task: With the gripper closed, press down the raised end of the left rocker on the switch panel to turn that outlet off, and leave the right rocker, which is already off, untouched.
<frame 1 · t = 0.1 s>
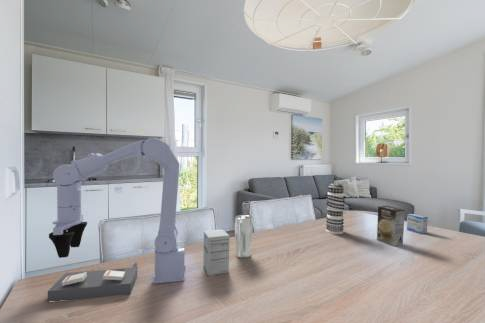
hand: (69, 251, 72), 10 cm above the table, tool pointing down, fingers open, 7 cm apart
switch panel: (97, 288, 71), on the table
rocker 2: (114, 275, 70), point 4 cm above the table, hinge at -10.0°
coffee box: (389, 242, 114), on the table
silver metal canister: (243, 255, 96), on the table
striped tower model: (334, 231, 128), on the table
rocker 1: (74, 278, 68), point 4 cm above the table, hinge at 10.0°
medicine box: (416, 232, 131), on the table
supplement box: (215, 270, 84), on the table
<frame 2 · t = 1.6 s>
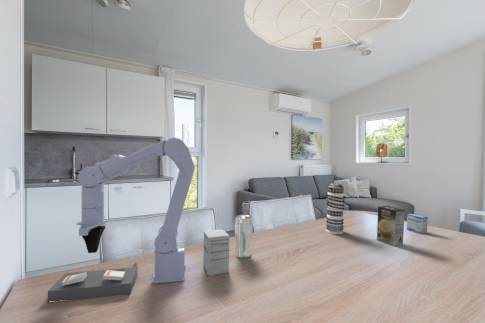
hand: (92, 251, 73), 9 cm above the table, tool pointing down, fingers closed
nothing on the table moved.
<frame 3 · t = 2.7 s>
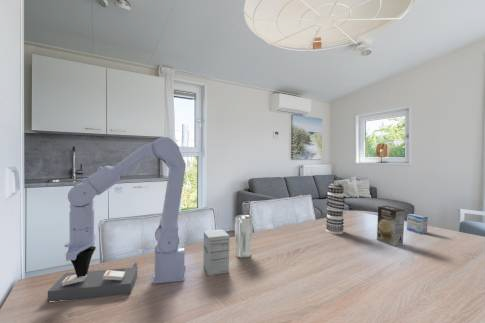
hand: (82, 275, 68), 5 cm above the table, tool pointing down, fingers closed, pressing on rocker 1
rocker 1: (74, 278, 68), point 4 cm above the table, hinge at 10.0°, touching gripper
everything else where it was.
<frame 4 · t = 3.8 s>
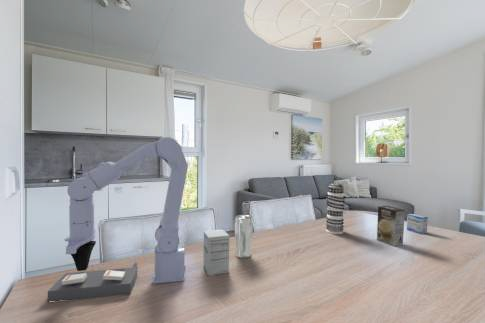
hand: (82, 269, 68), 7 cm above the table, tool pointing down, fingers closed
rocker 1: (74, 278, 68), point 4 cm above the table, hinge at 3.1°
everything else where it was.
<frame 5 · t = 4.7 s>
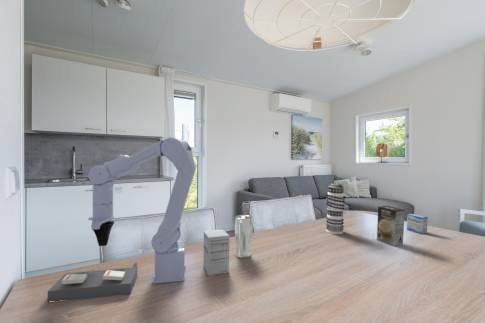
hand: (103, 245, 79), 9 cm above the table, tool pointing down, fingers closed
rocker 1: (74, 278, 68), point 4 cm above the table, hinge at -1.8°
everything else where it was.
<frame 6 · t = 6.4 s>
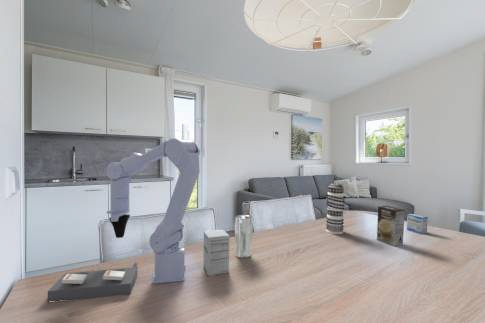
hand: (119, 237, 84), 10 cm above the table, tool pointing down, fingers closed
rocker 1: (74, 278, 68), point 4 cm above the table, hinge at -8.3°
everything else where it was.
at the end: rocker 1 at -9° (first picture: +10°); rocker 2 at -10° (first picture: -10°) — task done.
